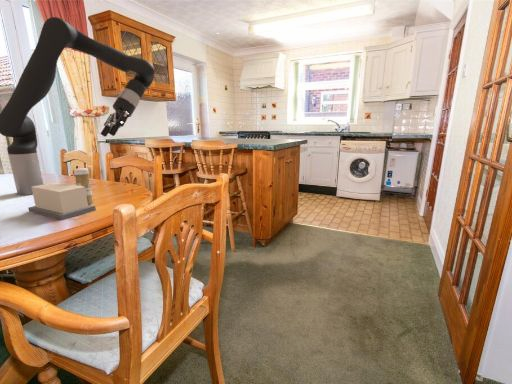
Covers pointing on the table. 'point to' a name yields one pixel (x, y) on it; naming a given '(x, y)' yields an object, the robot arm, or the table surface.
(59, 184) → the cream and grey block
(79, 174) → the sprinkles bottle
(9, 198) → the table surface
